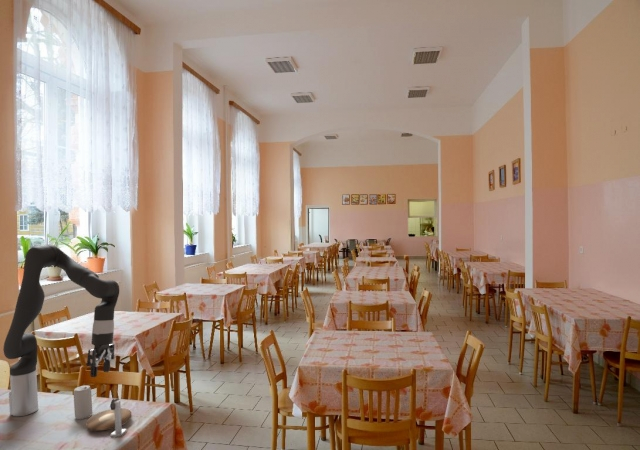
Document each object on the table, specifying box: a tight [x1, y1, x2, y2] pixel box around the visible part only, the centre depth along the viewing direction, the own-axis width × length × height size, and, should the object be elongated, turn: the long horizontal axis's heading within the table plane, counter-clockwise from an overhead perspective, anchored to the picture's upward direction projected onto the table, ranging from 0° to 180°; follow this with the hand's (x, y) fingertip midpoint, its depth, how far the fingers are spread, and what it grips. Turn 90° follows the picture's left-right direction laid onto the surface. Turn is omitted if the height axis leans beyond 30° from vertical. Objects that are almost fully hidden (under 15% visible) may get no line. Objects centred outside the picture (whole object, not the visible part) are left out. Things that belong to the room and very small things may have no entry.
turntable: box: [85, 408, 133, 432], centre depth 170 cm, size 16×16×1 cm
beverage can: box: [73, 385, 93, 420], centre depth 178 cm, size 6×6×12 cm
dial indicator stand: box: [109, 398, 128, 438], centre depth 162 cm, size 4×5×13 cm
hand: (100, 374), depth 167 cm, fingers open, 8 cm apart
